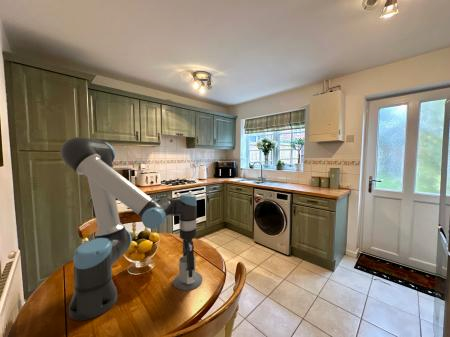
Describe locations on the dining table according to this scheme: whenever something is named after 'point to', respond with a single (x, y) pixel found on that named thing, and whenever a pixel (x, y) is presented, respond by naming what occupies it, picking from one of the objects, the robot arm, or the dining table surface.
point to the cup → (184, 269)
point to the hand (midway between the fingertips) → (187, 276)
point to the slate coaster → (185, 286)
